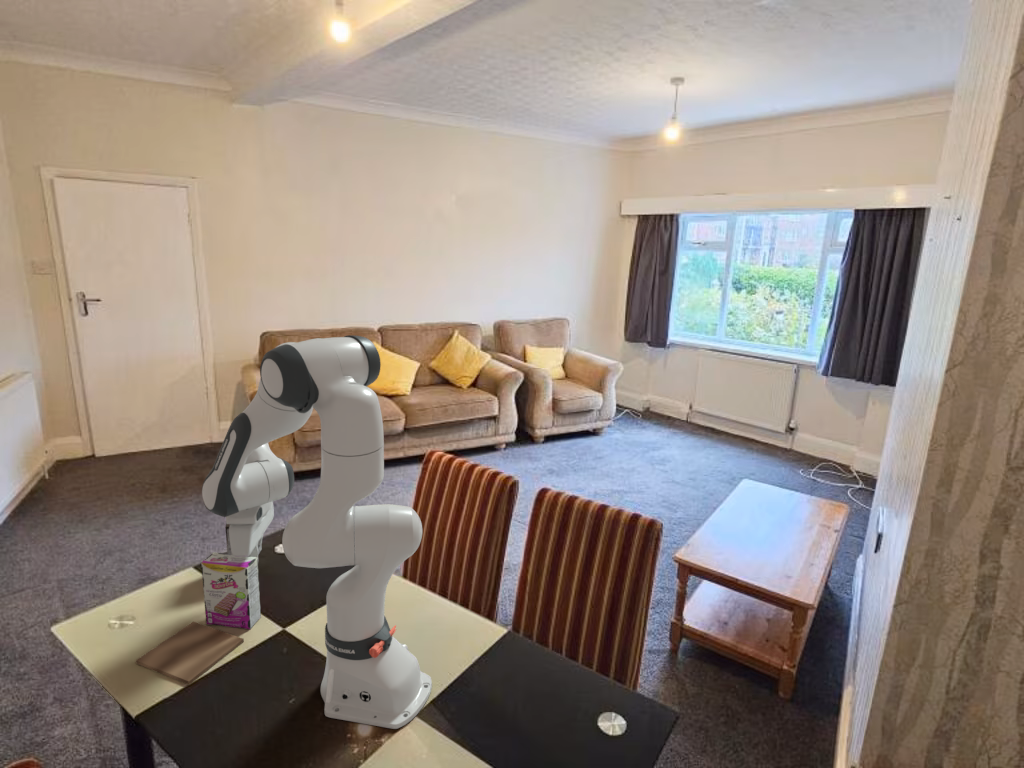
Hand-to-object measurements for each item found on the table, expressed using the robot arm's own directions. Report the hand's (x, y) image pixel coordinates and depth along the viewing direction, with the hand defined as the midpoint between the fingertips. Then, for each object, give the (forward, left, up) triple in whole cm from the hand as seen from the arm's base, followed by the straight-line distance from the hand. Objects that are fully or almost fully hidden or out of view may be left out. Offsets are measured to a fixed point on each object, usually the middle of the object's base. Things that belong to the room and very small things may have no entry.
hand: (256, 553), depth 136 cm
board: (0, +19, -14) cm, 24 cm away
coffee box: (+14, -9, -14) cm, 22 cm away
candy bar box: (0, +8, -14) cm, 16 cm away
